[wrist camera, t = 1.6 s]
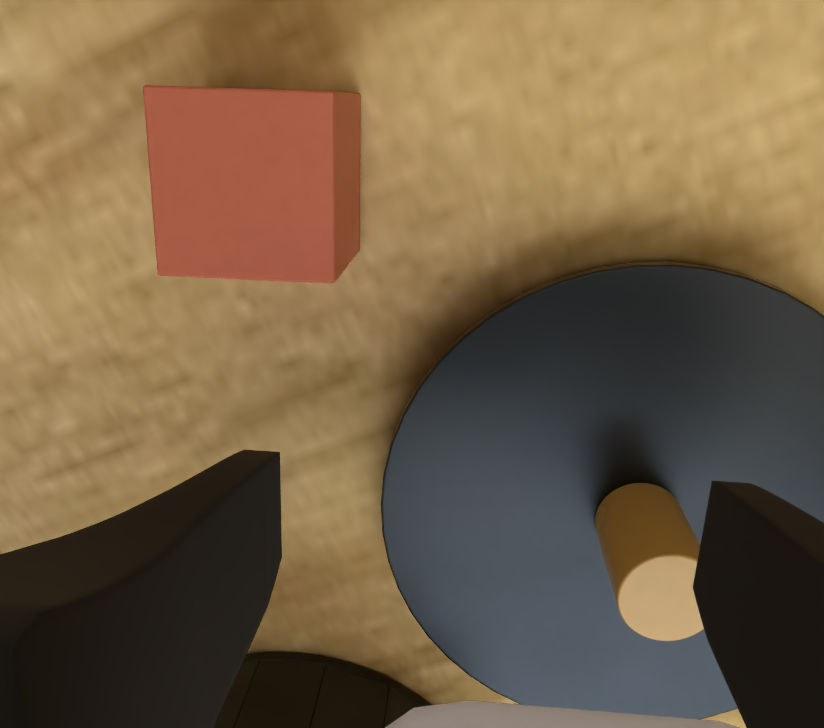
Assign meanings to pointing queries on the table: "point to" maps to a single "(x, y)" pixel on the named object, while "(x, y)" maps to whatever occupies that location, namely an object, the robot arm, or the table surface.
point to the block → (254, 182)
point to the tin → (312, 694)
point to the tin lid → (598, 478)
